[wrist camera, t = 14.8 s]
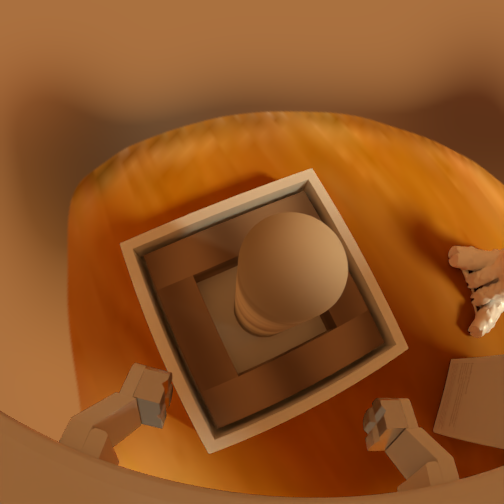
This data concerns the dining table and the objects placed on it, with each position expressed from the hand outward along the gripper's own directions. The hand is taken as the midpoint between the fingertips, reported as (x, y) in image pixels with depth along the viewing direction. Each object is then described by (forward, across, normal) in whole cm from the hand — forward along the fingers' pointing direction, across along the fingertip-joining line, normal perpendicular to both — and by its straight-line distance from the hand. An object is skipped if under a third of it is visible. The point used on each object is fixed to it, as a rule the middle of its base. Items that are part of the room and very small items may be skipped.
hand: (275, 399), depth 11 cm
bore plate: (+12, 0, +4) cm, 12 cm away
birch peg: (+12, 0, +4) cm, 12 cm away
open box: (+12, 0, +5) cm, 13 cm away
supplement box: (+8, -21, +10) cm, 25 cm away
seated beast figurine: (+16, -23, +1) cm, 28 cm away
